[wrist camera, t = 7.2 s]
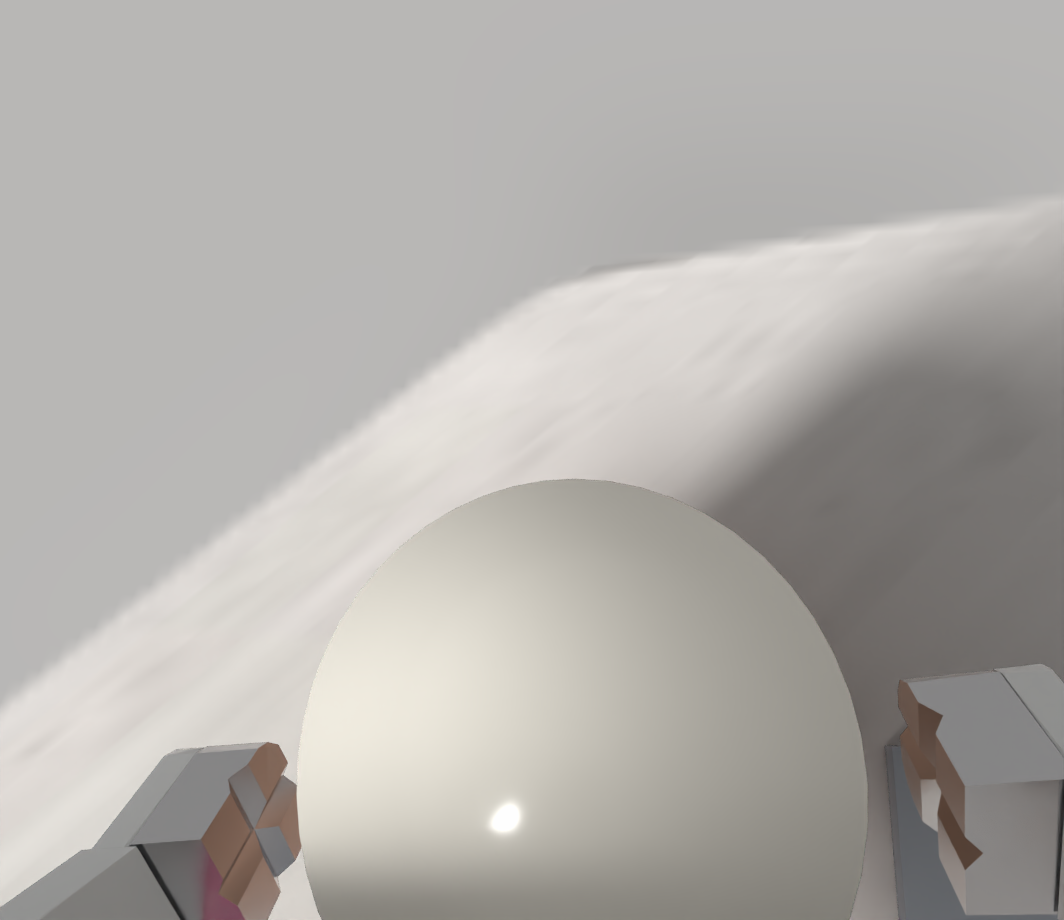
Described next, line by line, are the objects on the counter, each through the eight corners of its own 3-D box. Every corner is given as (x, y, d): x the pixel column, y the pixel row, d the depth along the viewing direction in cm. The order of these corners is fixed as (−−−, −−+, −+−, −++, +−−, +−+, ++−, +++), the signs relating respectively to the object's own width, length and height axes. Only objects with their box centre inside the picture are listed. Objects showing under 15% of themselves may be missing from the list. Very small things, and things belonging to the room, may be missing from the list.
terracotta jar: (793, 929, 13) (895, 1200, 5) (502, 882, 14) (240, 1036, 6) (782, 620, 15) (847, 480, 7) (528, 606, 16) (350, 478, 8)
